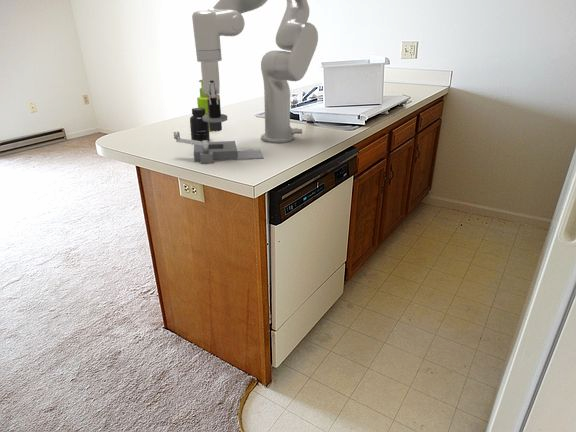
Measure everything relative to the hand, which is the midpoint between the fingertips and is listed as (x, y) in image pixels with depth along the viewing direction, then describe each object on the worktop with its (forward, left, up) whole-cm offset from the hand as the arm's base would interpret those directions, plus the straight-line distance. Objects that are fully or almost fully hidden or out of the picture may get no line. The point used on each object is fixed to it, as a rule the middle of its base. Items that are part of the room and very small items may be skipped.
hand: (215, 114), depth 136 cm
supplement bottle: (+6, -18, -14) cm, 24 cm away
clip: (+8, +4, -10) cm, 14 cm away
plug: (0, 0, -5) cm, 5 cm away
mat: (-10, +3, -13) cm, 17 cm away
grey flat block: (+1, +2, -13) cm, 14 cm away
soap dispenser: (+3, -34, -14) cm, 37 cm away
